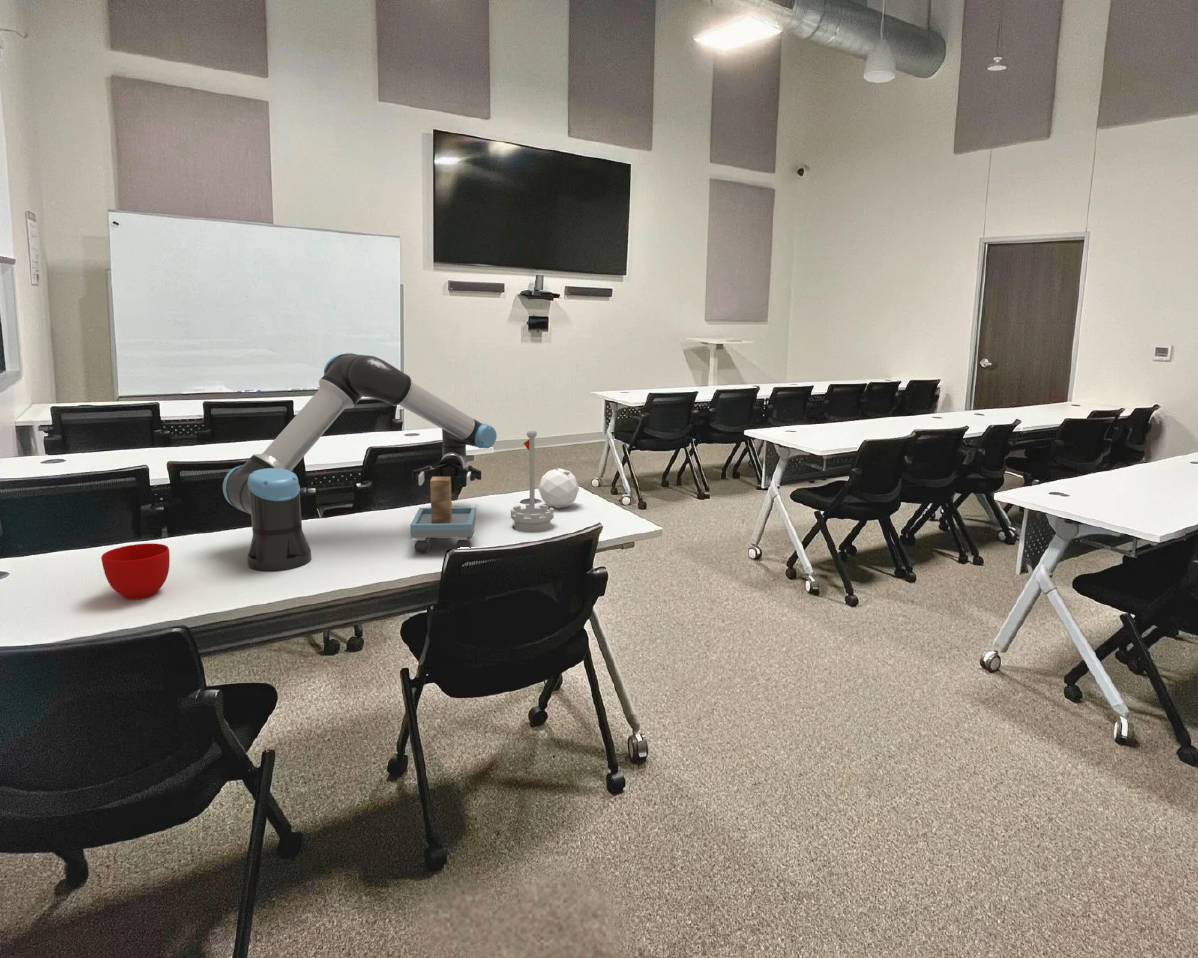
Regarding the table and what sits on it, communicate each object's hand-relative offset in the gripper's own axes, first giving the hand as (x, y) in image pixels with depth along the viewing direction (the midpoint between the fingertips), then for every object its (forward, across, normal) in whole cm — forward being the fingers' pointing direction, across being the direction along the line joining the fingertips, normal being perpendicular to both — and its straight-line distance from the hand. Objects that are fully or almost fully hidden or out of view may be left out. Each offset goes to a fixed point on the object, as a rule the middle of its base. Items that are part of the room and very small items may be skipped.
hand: (443, 480), depth 214 cm
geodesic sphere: (-31, -34, -16) cm, 49 cm away
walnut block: (+10, 0, -9) cm, 13 cm away
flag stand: (-8, -25, -16) cm, 31 cm away
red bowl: (+42, +64, -17) cm, 79 cm away
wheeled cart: (+10, -1, -16) cm, 19 cm away
